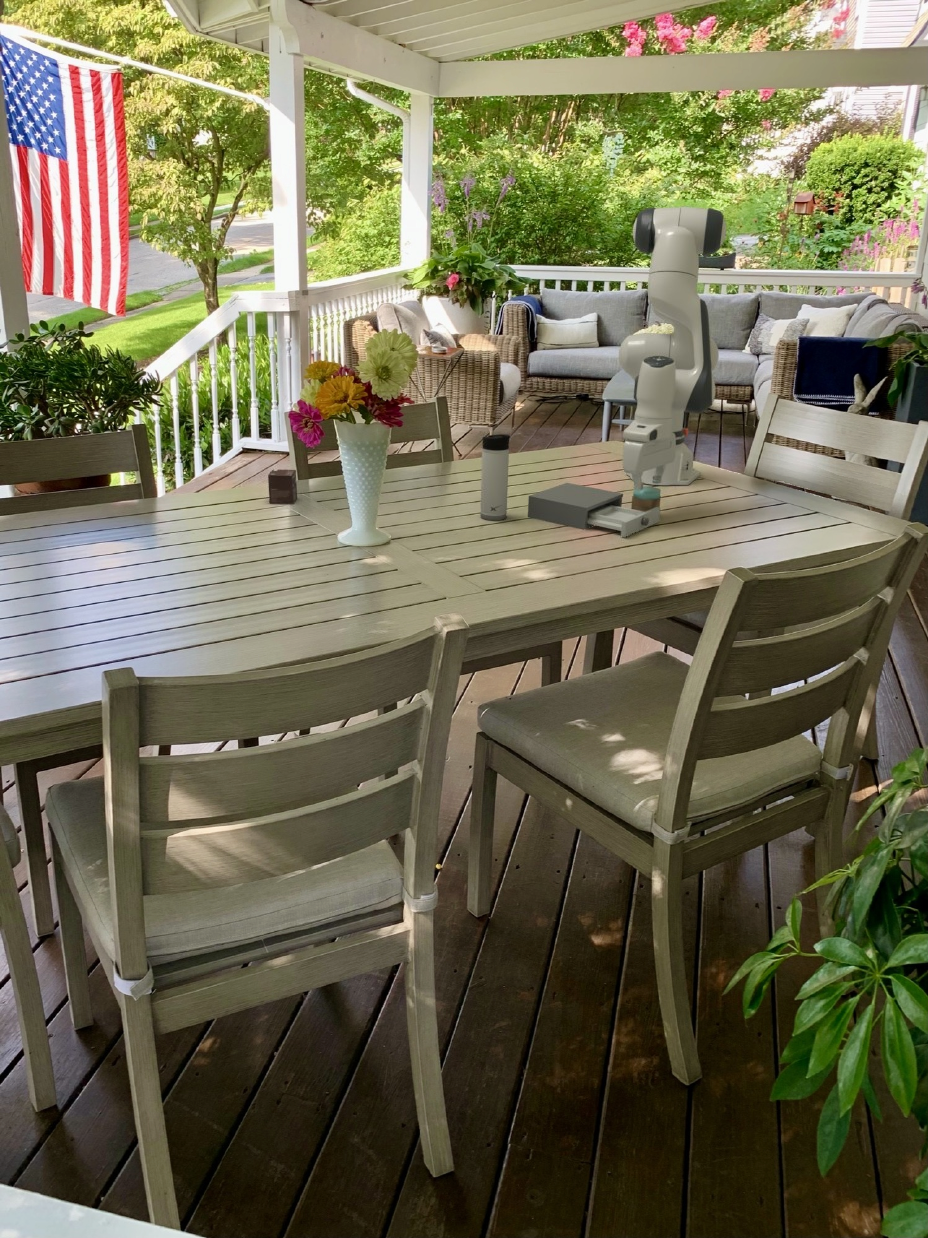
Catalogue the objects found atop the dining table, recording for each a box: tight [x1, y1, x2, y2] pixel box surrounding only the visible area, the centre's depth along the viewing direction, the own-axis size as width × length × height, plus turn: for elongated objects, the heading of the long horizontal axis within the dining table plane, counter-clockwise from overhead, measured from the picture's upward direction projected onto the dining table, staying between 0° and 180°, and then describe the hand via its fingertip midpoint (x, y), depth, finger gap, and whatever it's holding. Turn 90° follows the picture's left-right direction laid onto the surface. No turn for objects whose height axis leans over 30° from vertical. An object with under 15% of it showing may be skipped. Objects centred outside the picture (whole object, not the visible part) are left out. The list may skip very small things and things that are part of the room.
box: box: [267, 469, 298, 505], centre depth 251 cm, size 6×6×7 cm
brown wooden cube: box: [630, 495, 662, 512], centre depth 245 cm, size 5×5×5 cm
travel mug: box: [479, 433, 511, 521], centre depth 239 cm, size 6×7×20 cm
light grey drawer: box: [587, 505, 661, 538], centre depth 238 cm, size 17×17×4 cm
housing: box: [527, 482, 624, 530], centre depth 244 cm, size 17×16×5 cm
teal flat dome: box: [632, 485, 662, 500], centre depth 244 cm, size 6×6×2 cm
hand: (647, 486), depth 243 cm, fingers open, 8 cm apart
